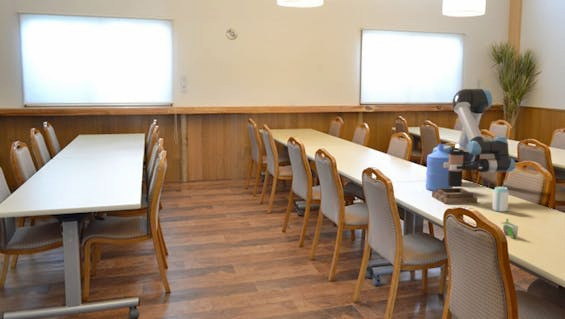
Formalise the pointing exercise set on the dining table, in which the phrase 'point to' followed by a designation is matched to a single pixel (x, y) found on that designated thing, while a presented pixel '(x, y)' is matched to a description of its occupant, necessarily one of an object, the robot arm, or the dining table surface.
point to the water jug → (437, 170)
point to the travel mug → (455, 175)
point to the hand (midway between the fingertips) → (447, 166)
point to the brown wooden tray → (454, 196)
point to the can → (500, 199)
